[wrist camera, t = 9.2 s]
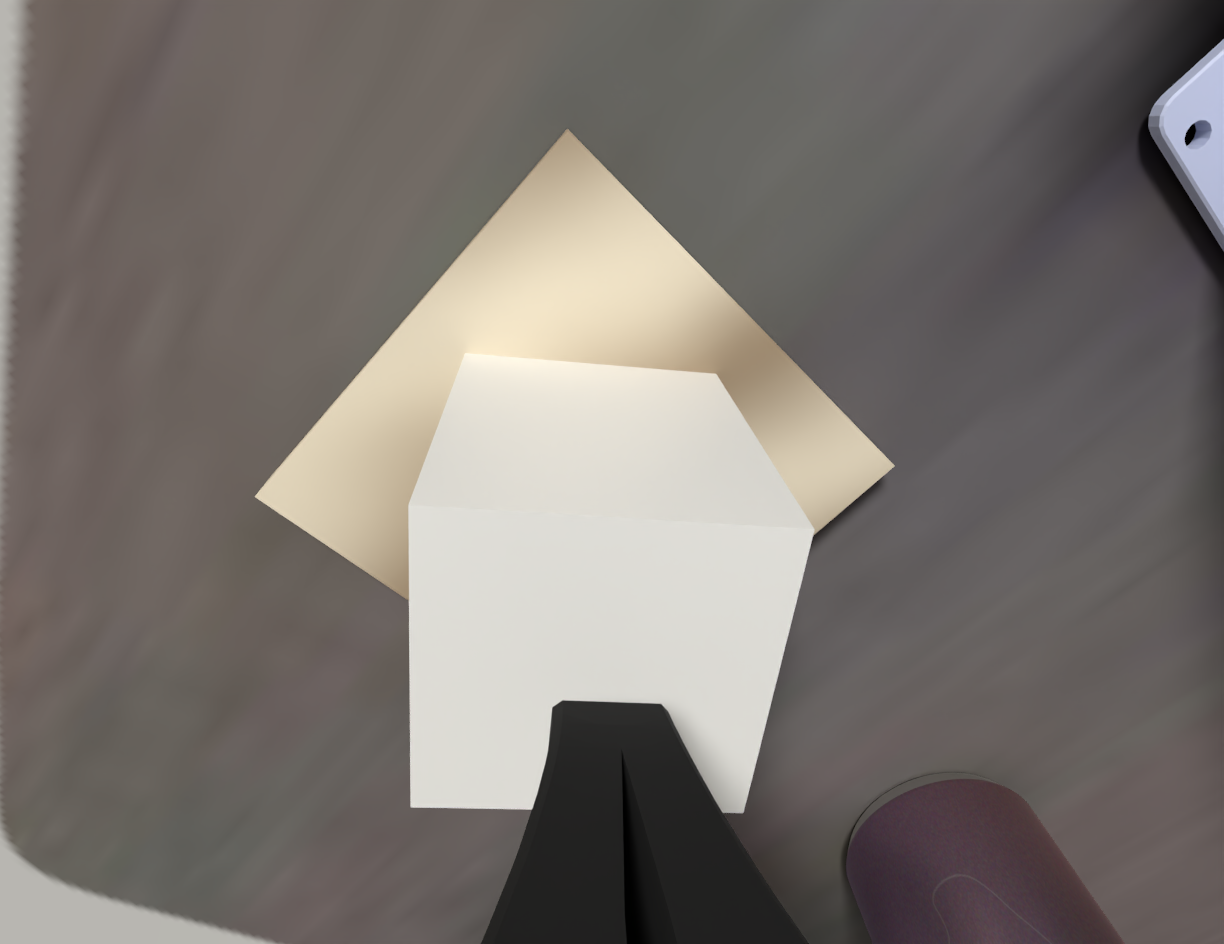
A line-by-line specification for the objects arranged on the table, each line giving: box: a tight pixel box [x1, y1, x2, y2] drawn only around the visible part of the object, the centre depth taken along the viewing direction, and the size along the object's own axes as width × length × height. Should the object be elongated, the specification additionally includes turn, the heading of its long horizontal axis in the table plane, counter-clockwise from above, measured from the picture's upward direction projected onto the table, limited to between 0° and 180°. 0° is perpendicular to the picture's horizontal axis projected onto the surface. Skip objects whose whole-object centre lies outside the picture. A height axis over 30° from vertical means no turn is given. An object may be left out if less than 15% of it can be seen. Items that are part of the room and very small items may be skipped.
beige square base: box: [255, 129, 894, 600], centre depth 15 cm, size 10×10×6 cm
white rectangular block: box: [408, 353, 815, 813], centre depth 14 cm, size 5×5×7 cm
